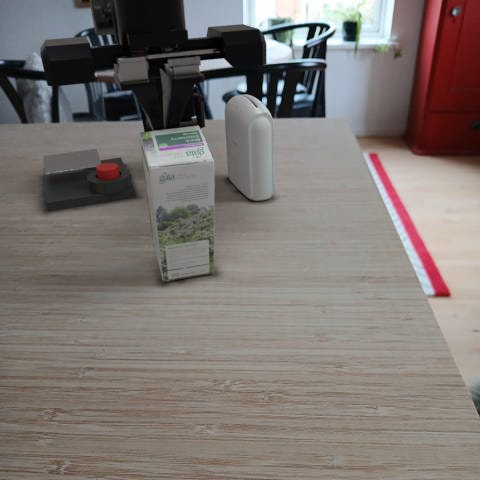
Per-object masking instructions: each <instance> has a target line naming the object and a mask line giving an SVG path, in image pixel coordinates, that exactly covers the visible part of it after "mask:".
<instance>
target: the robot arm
mask: <svg viewBox="0 0 480 480" xmlns="http://www.w3.org/2000/svg"><path fill="white" fill-rule="evenodd" d="M89 5H90V12H91V17H92V21H93V22H92V23H93V27H94V33H95V35H96V36H98V37H99V36H111V35H114V40H115V41H116V42H117V44H115V43H114V44H103V45H91V43H90V41H89V40H88V37H87V36H75V37H63V38H62V37H61V38H51V39H45V40H44V41H43V42H42V45H41V46H40V49H39V50H40V51H39V52H40V59H41V64H42V69H43V72H44V76H45V80H46V86H47V87H62V86H76V85H83V84H88V83H89V82H90V81H91V79H92V77H93V76H94V75H95V74H96V71H106V70H112V72H113V79H114V81H115V83H116V85H117V87H119V89H120V91H132V93H133V95H134V97H135V98H136V100H137V102H138V103H139V109H140V115H141V120H142V127H143V132H149V131H158V130H166V129H174V128H183V127H192V126H199V127H200V129H201V130H202V129H203V128H206V120H205V99H204V96H203V95H202V94H201V93H200V90H199V87H198V85H196V84H202V83H204V82H205V80H206V79H205V74H203V73H202V72H201V71H200V66H202V63H201V62H202V61H212V60H222V59H224V60H225V61H226V63H228V64H229V65H230V67H232V68H233V69H243V68H244V69H245V68H254V67H263V66H266V65H267V41H266V37H265V35H264V34H263V32H262V31H261V30H260V29H259V28H257V27H254V26H250V25H247V24H244V23H242V24H241V23H240V24H239V23H238V24H228V25H216V26H215V25H214V26H208V27H207V31H206V36H200V37H189V31H188V29H187V24H186V13H185V1H184V0H89Z"/></svg>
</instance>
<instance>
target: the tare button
mask: <svg viewBox="0 0 480 480" xmlns="http://www.w3.org/2000/svg"><path fill="white" fill-rule="evenodd" d="M96 170H97V175H98V179H100V180H108V179H114V178H117V177H119V176H120V174H119V168H118V165H117V164H115V163H104V164H100V165H98V166H97V167H96Z"/></svg>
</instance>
